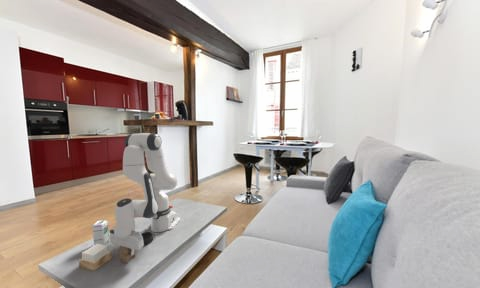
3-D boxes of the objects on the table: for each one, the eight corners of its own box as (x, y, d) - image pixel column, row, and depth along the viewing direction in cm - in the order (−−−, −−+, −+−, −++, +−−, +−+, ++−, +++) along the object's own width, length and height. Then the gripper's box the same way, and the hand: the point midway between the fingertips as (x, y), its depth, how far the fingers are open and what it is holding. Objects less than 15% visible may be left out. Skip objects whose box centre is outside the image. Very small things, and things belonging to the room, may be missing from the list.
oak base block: (98, 255, 109) (98, 248, 108) (111, 258, 106) (111, 252, 105) (79, 267, 99) (78, 260, 99) (93, 272, 96) (92, 264, 96)
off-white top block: (97, 250, 107) (97, 243, 106) (108, 252, 105) (108, 245, 104) (82, 259, 99) (81, 252, 99) (93, 262, 97) (93, 255, 97)
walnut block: (128, 254, 108) (127, 241, 107) (135, 256, 107) (134, 243, 106) (120, 260, 103) (119, 247, 102) (127, 262, 102) (126, 248, 101)
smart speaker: (149, 235, 127) (149, 230, 127) (156, 240, 122) (155, 234, 121) (135, 241, 120) (135, 236, 120) (141, 247, 115) (141, 241, 114)
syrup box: (104, 247, 115) (102, 224, 114) (93, 248, 114) (91, 225, 113) (109, 241, 121) (107, 219, 119) (99, 242, 120) (97, 220, 118)
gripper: (145, 229, 103) (147, 253, 105) (117, 223, 109) (118, 246, 111) (136, 236, 97) (137, 261, 99) (106, 229, 103) (108, 253, 105)
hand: (127, 253), depth 105 cm, fingers closed on walnut block, 5 cm apart
